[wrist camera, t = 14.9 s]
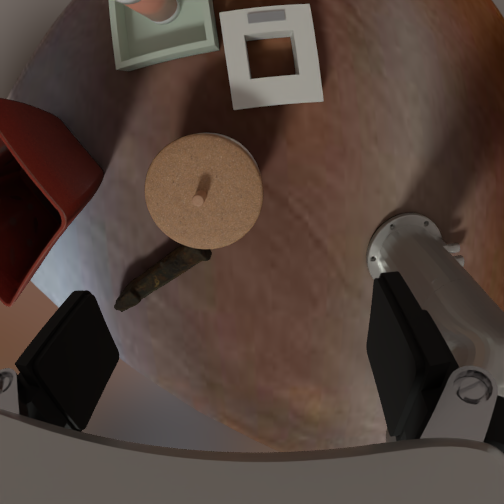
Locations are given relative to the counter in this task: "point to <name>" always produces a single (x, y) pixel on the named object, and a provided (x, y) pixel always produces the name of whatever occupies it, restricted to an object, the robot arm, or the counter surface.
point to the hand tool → (161, 275)
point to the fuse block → (264, 27)
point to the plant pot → (37, 190)
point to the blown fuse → (155, 9)
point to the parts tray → (161, 34)
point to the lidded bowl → (204, 190)
